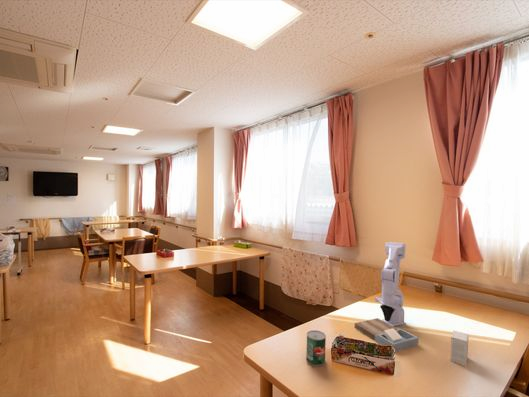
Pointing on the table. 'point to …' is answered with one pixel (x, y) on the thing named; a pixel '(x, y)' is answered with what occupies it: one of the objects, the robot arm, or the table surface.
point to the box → (406, 342)
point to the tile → (392, 335)
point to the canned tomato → (316, 348)
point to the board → (373, 327)
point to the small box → (459, 347)
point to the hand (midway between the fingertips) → (387, 320)
